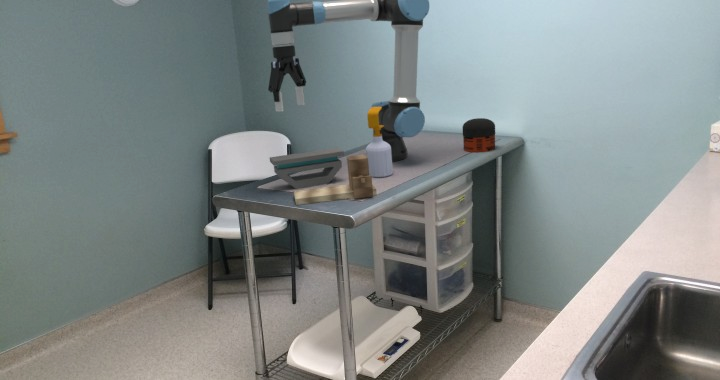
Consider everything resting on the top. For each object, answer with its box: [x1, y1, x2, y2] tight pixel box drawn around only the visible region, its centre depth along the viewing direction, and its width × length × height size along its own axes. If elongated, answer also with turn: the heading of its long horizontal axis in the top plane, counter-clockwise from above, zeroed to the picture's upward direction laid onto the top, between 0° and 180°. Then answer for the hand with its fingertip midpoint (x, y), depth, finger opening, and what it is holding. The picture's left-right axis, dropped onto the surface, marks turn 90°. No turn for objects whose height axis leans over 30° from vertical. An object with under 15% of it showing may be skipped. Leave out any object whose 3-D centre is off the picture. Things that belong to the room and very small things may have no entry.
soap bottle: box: [365, 107, 393, 178], centre depth 222 cm, size 9×9×25 cm
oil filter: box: [462, 117, 496, 154], centre depth 252 cm, size 13×12×13 cm
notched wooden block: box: [346, 153, 374, 199], centre depth 200 cm, size 6×11×12 cm, turn 10°
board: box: [293, 183, 377, 206], centre depth 203 cm, size 26×10×2 cm, turn 100°
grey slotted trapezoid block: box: [269, 147, 345, 190], centre depth 220 cm, size 25×8×11 cm, turn 108°
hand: (290, 108), depth 215 cm, fingers open, 13 cm apart
